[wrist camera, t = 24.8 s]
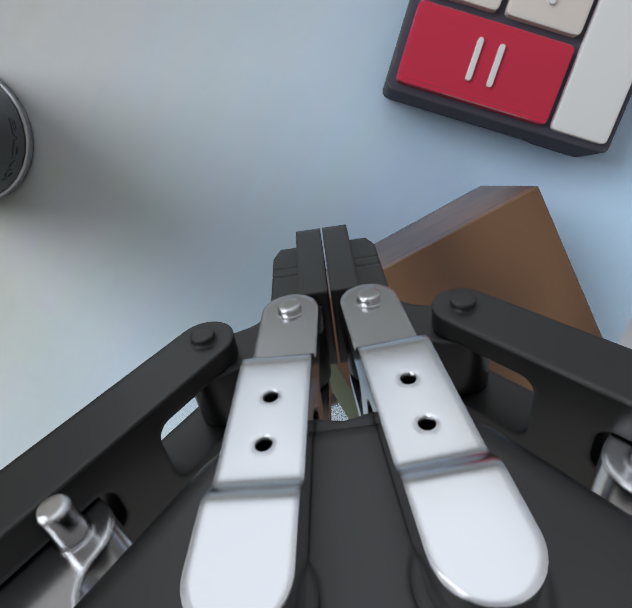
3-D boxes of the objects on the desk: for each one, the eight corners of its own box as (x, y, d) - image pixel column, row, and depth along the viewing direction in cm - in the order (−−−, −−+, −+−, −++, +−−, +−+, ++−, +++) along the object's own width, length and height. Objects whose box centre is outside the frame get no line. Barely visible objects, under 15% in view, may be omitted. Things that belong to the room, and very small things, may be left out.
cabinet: (393, 429, 39) (415, 501, 30) (307, 280, 36) (304, 311, 27) (556, 350, 37) (629, 400, 29) (481, 185, 34) (538, 185, 26)
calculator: (446, -117, 27) (695, -39, 27) (431, -75, 31) (647, -8, 31) (385, 85, 29) (613, 154, 29) (379, 98, 33) (579, 158, 34)
